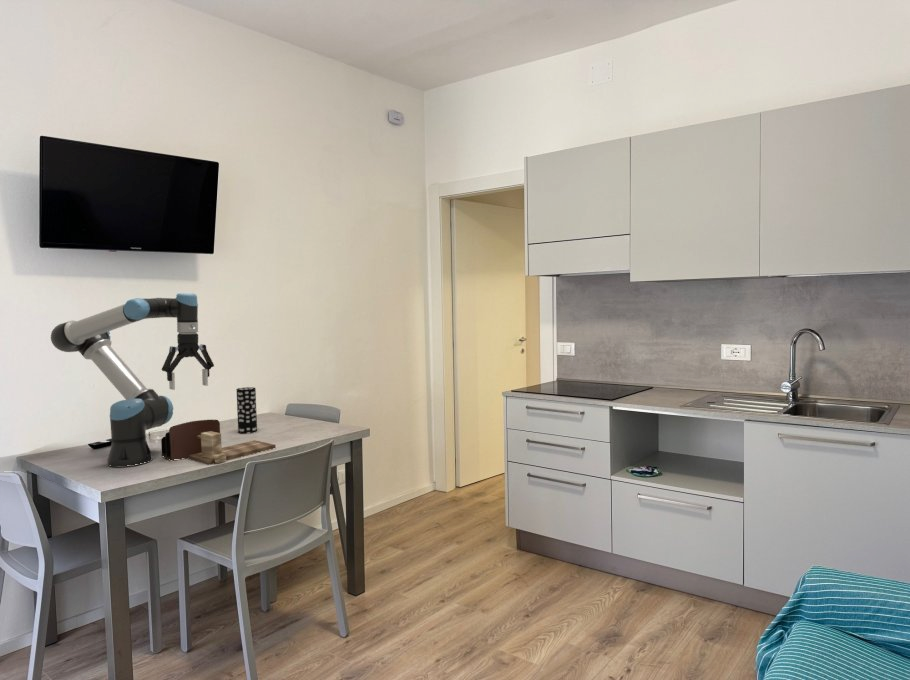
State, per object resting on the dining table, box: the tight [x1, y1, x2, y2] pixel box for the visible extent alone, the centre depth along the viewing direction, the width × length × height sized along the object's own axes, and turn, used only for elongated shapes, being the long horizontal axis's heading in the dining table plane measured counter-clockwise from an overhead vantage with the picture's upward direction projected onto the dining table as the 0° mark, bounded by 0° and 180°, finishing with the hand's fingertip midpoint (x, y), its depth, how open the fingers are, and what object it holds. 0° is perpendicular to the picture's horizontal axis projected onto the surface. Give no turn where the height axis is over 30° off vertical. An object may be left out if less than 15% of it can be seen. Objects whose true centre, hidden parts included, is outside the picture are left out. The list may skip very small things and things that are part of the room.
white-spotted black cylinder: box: [236, 386, 258, 435], centre depth 296 cm, size 8×8×20 cm
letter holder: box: [160, 419, 221, 461], centre depth 256 cm, size 10×20×14 cm, turn 134°
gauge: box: [197, 431, 227, 464], centre depth 247 cm, size 4×15×10 cm, turn 53°
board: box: [188, 439, 277, 465], centre depth 256 cm, size 30×14×2 cm, turn 143°
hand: (189, 387), depth 253 cm, fingers open, 13 cm apart
